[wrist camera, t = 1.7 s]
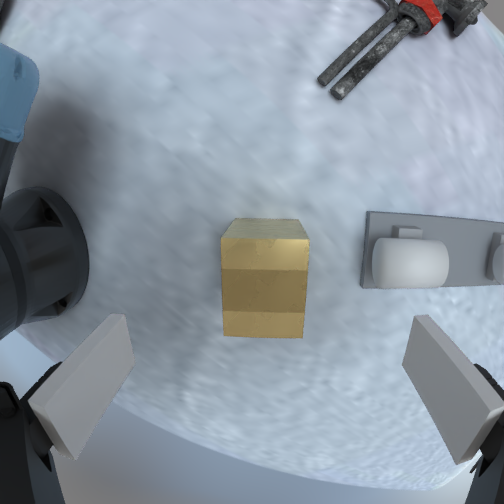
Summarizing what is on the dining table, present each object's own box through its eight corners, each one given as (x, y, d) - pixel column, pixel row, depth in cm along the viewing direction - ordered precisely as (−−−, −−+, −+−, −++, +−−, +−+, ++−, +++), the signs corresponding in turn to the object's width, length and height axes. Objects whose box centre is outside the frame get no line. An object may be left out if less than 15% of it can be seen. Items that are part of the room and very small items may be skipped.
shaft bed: (360, 284, 27) (381, 315, 21) (367, 211, 26) (394, 223, 19) (503, 281, 26) (536, 301, 20) (513, 224, 24) (550, 236, 18)
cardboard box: (294, 294, 28) (302, 338, 20) (236, 292, 28) (223, 335, 21) (298, 219, 26) (309, 239, 18) (235, 218, 26) (220, 237, 19)
